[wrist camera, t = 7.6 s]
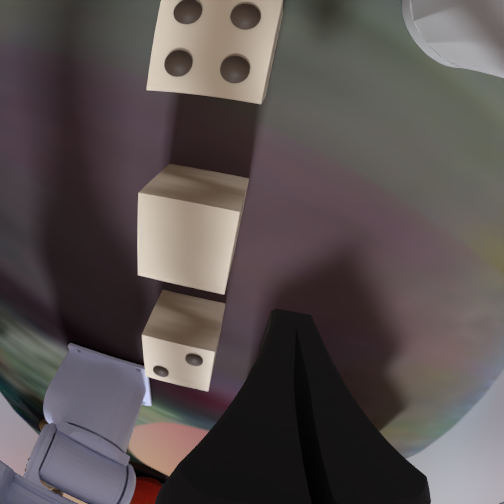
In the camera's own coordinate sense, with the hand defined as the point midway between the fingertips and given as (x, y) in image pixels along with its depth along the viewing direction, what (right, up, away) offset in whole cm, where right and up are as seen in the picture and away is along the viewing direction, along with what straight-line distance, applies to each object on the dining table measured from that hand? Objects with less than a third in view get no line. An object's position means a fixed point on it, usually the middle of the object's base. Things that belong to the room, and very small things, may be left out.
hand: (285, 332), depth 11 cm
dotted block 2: (-6, -3, +15) cm, 16 cm away
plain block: (-4, +6, +9) cm, 12 cm away
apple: (-24, -48, +44) cm, 70 cm away
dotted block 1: (-2, +14, +4) cm, 15 cm away
